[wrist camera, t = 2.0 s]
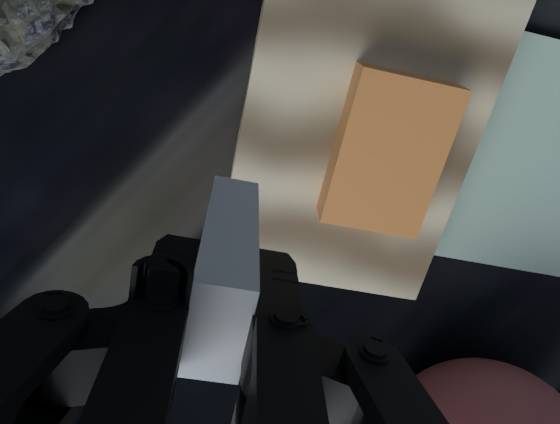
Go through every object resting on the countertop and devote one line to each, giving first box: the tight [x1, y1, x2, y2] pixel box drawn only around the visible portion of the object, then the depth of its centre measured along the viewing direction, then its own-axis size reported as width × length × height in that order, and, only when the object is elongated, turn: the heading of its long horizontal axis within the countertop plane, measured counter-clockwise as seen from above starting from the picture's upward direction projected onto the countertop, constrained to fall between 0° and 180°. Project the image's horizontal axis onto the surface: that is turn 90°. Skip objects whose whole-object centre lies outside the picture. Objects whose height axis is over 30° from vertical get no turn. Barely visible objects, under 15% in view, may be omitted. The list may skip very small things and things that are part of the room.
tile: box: [316, 61, 472, 239], centre depth 28 cm, size 9×6×2 cm, turn 168°
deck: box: [230, 0, 536, 300], centre depth 30 cm, size 20×14×4 cm
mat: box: [434, 31, 560, 277], centre depth 33 cm, size 16×13×1 cm
